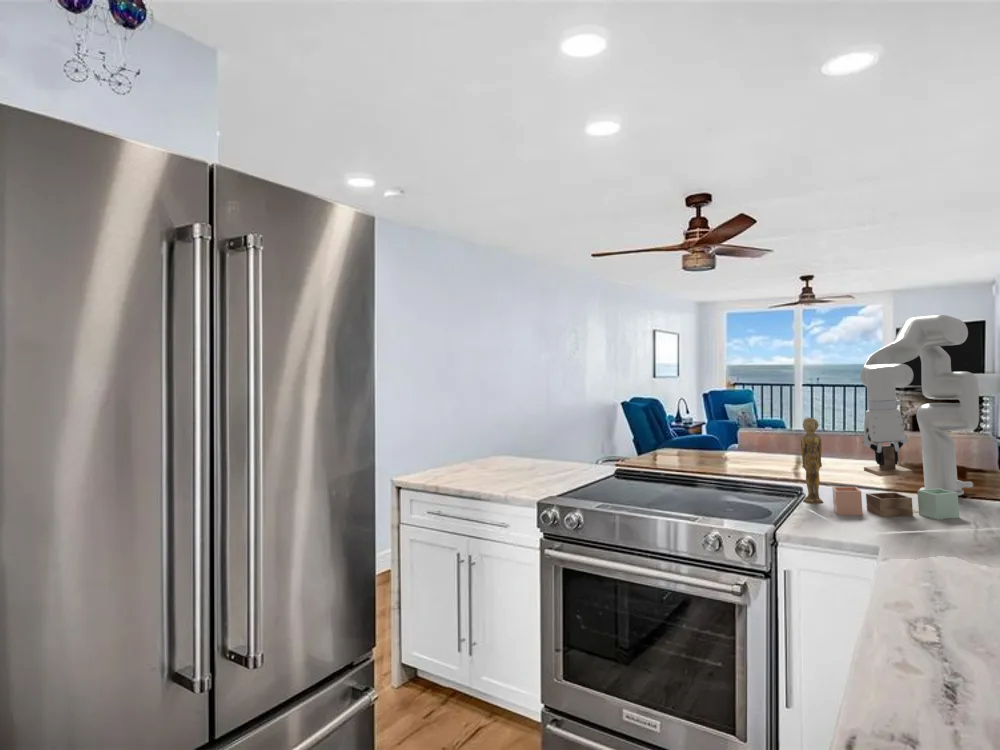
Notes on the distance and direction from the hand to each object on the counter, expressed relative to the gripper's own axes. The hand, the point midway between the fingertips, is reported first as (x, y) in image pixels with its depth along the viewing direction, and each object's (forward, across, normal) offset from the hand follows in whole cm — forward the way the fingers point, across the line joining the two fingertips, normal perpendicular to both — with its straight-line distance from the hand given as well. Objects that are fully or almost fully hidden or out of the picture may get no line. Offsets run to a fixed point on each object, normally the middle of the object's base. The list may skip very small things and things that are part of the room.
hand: (887, 463), depth 190 cm
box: (+16, +1, +1) cm, 16 cm away
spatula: (+16, -5, -5) cm, 18 cm away
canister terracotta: (+16, +12, -2) cm, 20 cm away
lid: (+3, 0, 0) cm, 3 cm away
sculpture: (+16, +16, -18) cm, 29 cm away
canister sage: (+16, -10, +7) cm, 20 cm away
